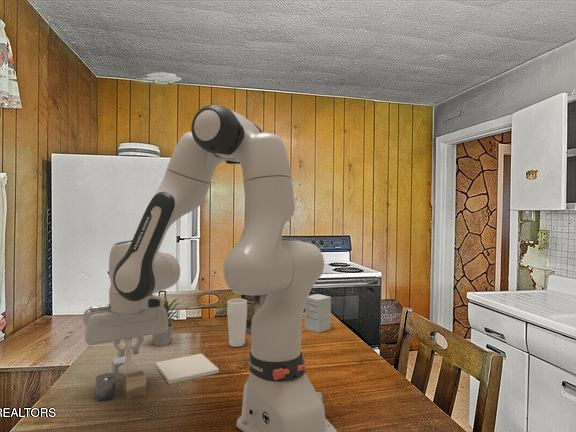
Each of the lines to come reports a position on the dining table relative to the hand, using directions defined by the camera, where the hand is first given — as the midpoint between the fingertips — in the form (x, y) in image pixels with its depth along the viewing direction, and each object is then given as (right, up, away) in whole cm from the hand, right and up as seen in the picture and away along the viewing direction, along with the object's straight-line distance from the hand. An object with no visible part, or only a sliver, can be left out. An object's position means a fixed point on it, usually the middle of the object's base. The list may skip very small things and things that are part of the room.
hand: (128, 355), depth 103 cm
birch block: (+3, -8, -4) cm, 9 cm away
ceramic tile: (+13, -8, +10) cm, 18 cm away
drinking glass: (+24, -8, +31) cm, 40 cm away
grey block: (-4, -8, +6) cm, 10 cm away
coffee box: (+29, -7, +46) cm, 55 cm away
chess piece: (0, -4, 0) cm, 4 cm away
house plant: (0, -7, +32) cm, 33 cm away
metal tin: (-3, -8, -7) cm, 11 cm away
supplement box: (+53, -7, +49) cm, 73 cm away
